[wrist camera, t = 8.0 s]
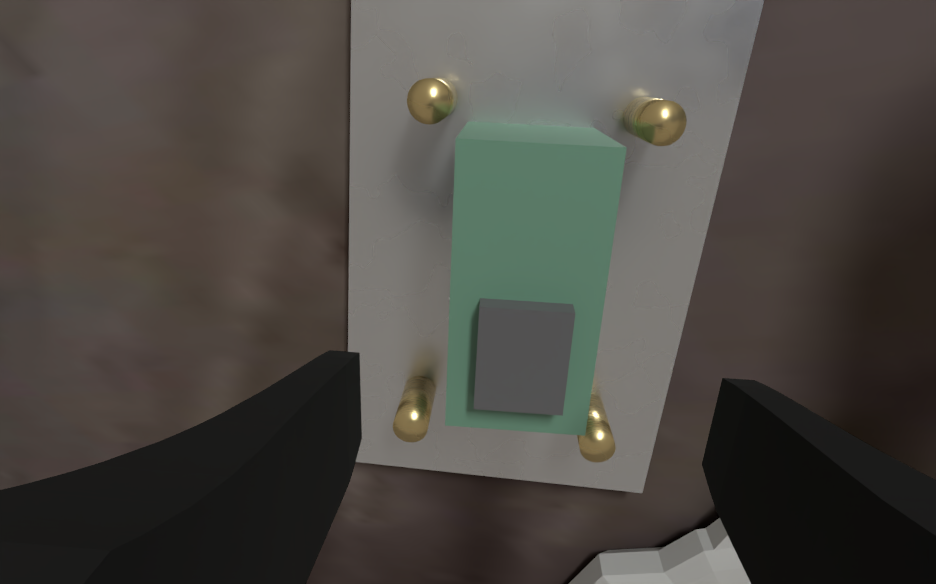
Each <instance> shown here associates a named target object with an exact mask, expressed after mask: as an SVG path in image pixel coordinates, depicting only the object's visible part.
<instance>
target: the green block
mask: <svg viewBox="0 0 936 584" xmlns="http://www.w3.org/2000/svg"><path fill="white" fill-rule="evenodd" d="M626 149H627V148H626V147H625V146H623V145H621V144H620V143H618V142H616V141H615V140H613V139H612V138H610V137H608V136H607V135H605V134H603V133H602V132H600V131H598V130H597V129H595V128H582V127H563V126H544V125H525V124H506V123H487V122H467V124H466V125H465V126H464V128H463V129H462V130H461V132H460V133H459V135H458V136H457V137H456V141H455V168H454V195H453V222H452V250H451V277H450V304H449V331H448V358H447V385H446V413H445V426H459V427H473V428H486V429H500V430H513V431H527V432H541V433H554V434H568V435H582V436H585V433H586V427H587V420H588V413H589V406H590V399H591V392H592V385H593V378H594V371H595V364H596V357H597V350H598V343H599V336H600V329H601V323H602V316H603V309H604V302H605V295H606V288H607V281H608V274H609V267H610V260H611V253H612V246H613V239H614V232H615V225H616V219H617V212H618V205H619V198H620V191H621V184H622V177H623V170H624V163H625V156H626Z"/></svg>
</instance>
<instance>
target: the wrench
mask: <svg viewBox="0 0 936 584" xmlns="http://www.w3.org/2000/svg"><path fill="white" fill-rule="evenodd" d="M569 584H751V582H750V580H749V578H748V576H747V574H746V572H745V570H744V568H743V566H742V564H741V562H740V560H739V558H738V555H737V553H736V551H735V549H734V547H733V545H732V543H731V541H730V539H729V537H728V534H727V532H726V530H725V528H724V526H723V524H722V522H721V519H720V518H719V519H717V520H716V521H715V522H713V523H712V524H710V525H709V526H708V527H706V528H703V529H696V530H694V531H692V532H690V533H689V534H687V535H685V536H683V537H681V538H680V539H678V540H676V541H674V542H672V543H671V544H669V545H667V546H665V547H656V548H637V549H619V550H607V551H605V552H602V553H600V554H598V555H597V556H596V557H595V558H594V559H593V560H592V561H591V562H590V563H589V564H588V565H587V566H586V567H585V568H584V569H583V570H582V571H581V572H580V573H579V574H578V575H577V576H576V577H575V578H574V579H573V580H572V581H571V582H570V583H569Z"/></svg>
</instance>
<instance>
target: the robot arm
mask: <svg viewBox="0 0 936 584" xmlns="http://www.w3.org/2000/svg"><path fill="white" fill-rule="evenodd" d="M361 439H362V424H361V387H360V353H358V352H344V351H328V352H326V353H324V354H322V355H320V356H319V357H317V358H315V359H314V360H312V361H310V362H309V363H307V364H305V365H304V366H302V367H301V368H299V369H297V370H296V371H294V372H293V373H291V374H289V375H288V376H286V377H284V378H283V379H281V380H280V381H278V382H276V383H275V384H273V385H271V386H270V387H268V388H266V389H265V390H263V391H261V392H260V393H258V394H256V395H254V396H252V397H251V398H249V399H247V400H245V401H243V402H241V403H240V404H238V405H236V406H234V407H232V408H231V409H229V410H227V411H225V412H223V413H221V414H219V415H217V416H215V417H213V418H211V419H209V420H207V421H205V422H203V423H201V424H199V425H197V426H194V427H192V428H190V429H188V430H185V431H183V432H181V433H178V434H176V435H174V436H172V437H169V438H167V439H164V440H162V441H159V442H157V443H154V444H151V445H149V446H146V447H143V448H140V449H137V450H135V451H132V452H129V453H126V454H124V455H121V456H118V457H115V458H112V459H110V460H107V461H104V462H101V463H98V464H95V465H92V466H88V467H85V468H82V469H78V470H75V471H72V472H68V473H65V474H61V475H58V476H54V477H50V478H47V479H43V480H39V481H36V482H32V483H28V484H24V485H20V486H16V487H12V488H8V489H4V490H0V584H306V582H307V580H308V577H309V575H310V573H311V570H312V568H313V566H314V563H315V561H316V559H317V556H318V554H319V552H320V550H321V547H322V545H323V543H324V540H325V538H326V536H327V533H328V531H329V529H330V527H331V524H332V522H333V520H334V517H335V515H336V513H337V510H338V508H339V506H340V503H341V501H342V499H343V496H344V494H345V492H346V489H347V487H348V484H349V482H350V479H351V476H352V472H353V469H354V465H355V462H356V458H357V454H358V451H359V447H360V443H361ZM702 466H703V469H704V473H705V476H706V480H707V483H708V486H709V490H710V493H711V496H712V499H713V502H714V505H715V508H716V511H717V513H718V515H719V517H720V519H721V522H722V524H723V526H724V528H725V530H726V532H727V534H728V537H729V539H730V541H731V543H732V545H733V547H734V549H735V551H736V553H737V555H738V558H739V560H740V562H741V564H742V566H743V568H744V570H745V572H746V574H747V576H748V578H749V580H750V582H751V584H936V480H935V479H933V478H931V477H929V476H927V475H925V474H923V473H921V472H919V471H917V470H915V469H913V468H911V467H909V466H907V465H905V464H903V463H902V462H900V461H898V460H896V459H894V458H892V457H890V456H889V455H887V454H885V453H883V452H881V451H879V450H877V449H876V448H874V447H872V446H870V445H868V444H867V443H865V442H863V441H861V440H860V439H858V438H856V437H854V436H853V435H851V434H849V433H847V432H846V431H844V430H842V429H841V428H839V427H837V426H835V425H834V424H832V423H830V422H829V421H827V420H825V419H824V418H822V417H820V416H819V415H817V414H815V413H813V412H812V411H810V410H808V409H807V408H805V407H803V406H802V405H800V404H798V403H797V402H795V401H793V400H791V399H790V398H788V397H786V396H784V395H783V394H781V393H779V392H777V391H775V390H774V389H772V388H770V387H768V386H766V385H764V384H762V383H759V382H757V381H755V380H742V379H728V378H722V383H721V387H720V391H719V395H718V399H717V403H716V408H715V412H714V416H713V420H712V424H711V428H710V433H709V437H708V441H707V445H706V449H705V454H704V458H703V462H702Z"/></svg>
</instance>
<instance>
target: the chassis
mask: <svg viewBox="0 0 936 584" xmlns="http://www.w3.org/2000/svg"><path fill="white" fill-rule="evenodd" d="M763 3H764V0H351V74H350V184H349V294H348V352H358V353H360V387H361V424H362V439H361V443H360V447H359V451H358V454H357V458H356V462H361V463H371V464H380V465H389V466H398V467H407V468H416V469H425V470H435V471H444V472H453V473H462V474H471V475H480V476H490V477H499V478H508V479H517V480H526V481H535V482H544V483H554V484H563V485H572V486H581V487H590V488H599V489H609V490H618V491H627V492H636V493H642V492H643V488H644V484H645V480H646V476H647V472H648V468H649V464H650V460H651V455H652V451H653V447H654V443H655V439H656V435H657V431H658V427H659V423H660V419H661V415H662V411H663V407H664V403H665V399H666V395H667V391H668V387H669V383H670V379H671V375H672V371H673V367H674V362H675V358H676V354H677V350H678V346H679V342H680V338H681V334H682V330H683V326H684V322H685V318H686V314H687V310H688V306H689V302H690V298H691V294H692V290H693V286H694V282H695V278H696V274H697V269H698V265H699V261H700V257H701V253H702V249H703V245H704V241H705V237H706V233H707V229H708V225H709V221H710V217H711V213H712V209H713V205H714V201H715V197H716V193H717V189H718V185H719V181H720V176H721V172H722V168H723V164H724V160H725V156H726V152H727V148H728V144H729V140H730V136H731V132H732V128H733V124H734V120H735V116H736V112H737V108H738V104H739V100H740V96H741V92H742V88H743V83H744V79H745V75H746V71H747V67H748V63H749V59H750V55H751V51H752V47H753V43H754V39H755V35H756V31H757V27H758V23H759V19H760V15H761V11H762V7H763ZM467 122H487V123H506V124H525V125H544V126H563V127H582V128H595V129H597V130H598V131H600V132H602V133H603V134H605V135H607V136H608V137H610V138H612V139H613V140H615V141H616V142H618V143H620V144H621V145H623V146H625V147H626V148H627V149H626V156H625V163H624V170H623V177H622V184H621V191H620V198H619V205H618V212H617V219H616V225H615V232H614V239H613V246H612V253H611V260H610V267H609V274H608V281H607V288H606V295H605V302H604V309H603V316H602V323H601V329H600V336H599V343H598V350H597V357H596V364H595V371H594V378H593V385H592V392H591V399H590V406H589V413H588V420H587V427H586V433H585V436H582V435H568V434H554V433H541V432H527V431H513V430H500V429H486V428H473V427H459V426H445V413H446V385H447V358H448V331H449V304H450V277H451V250H452V222H453V195H454V168H455V141H456V137H457V136H458V135H459V133H460V132H461V130H462V129H463V128H464V126H465V125H466V124H467Z"/></svg>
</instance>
